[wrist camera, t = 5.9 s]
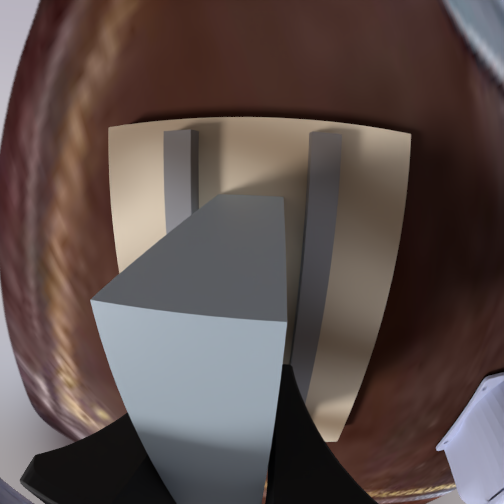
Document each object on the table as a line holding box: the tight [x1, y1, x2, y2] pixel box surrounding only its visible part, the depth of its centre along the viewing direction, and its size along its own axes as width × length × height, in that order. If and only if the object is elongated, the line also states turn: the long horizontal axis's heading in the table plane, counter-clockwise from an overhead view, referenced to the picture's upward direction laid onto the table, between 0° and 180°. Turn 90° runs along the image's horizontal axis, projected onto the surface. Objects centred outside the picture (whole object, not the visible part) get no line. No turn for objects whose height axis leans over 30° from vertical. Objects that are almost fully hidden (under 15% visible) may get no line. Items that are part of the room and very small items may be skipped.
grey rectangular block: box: [90, 194, 287, 504], centre depth 9 cm, size 12×2×8 cm, turn 178°
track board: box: [109, 117, 411, 442], centre depth 13 cm, size 18×12×2 cm, turn 178°
